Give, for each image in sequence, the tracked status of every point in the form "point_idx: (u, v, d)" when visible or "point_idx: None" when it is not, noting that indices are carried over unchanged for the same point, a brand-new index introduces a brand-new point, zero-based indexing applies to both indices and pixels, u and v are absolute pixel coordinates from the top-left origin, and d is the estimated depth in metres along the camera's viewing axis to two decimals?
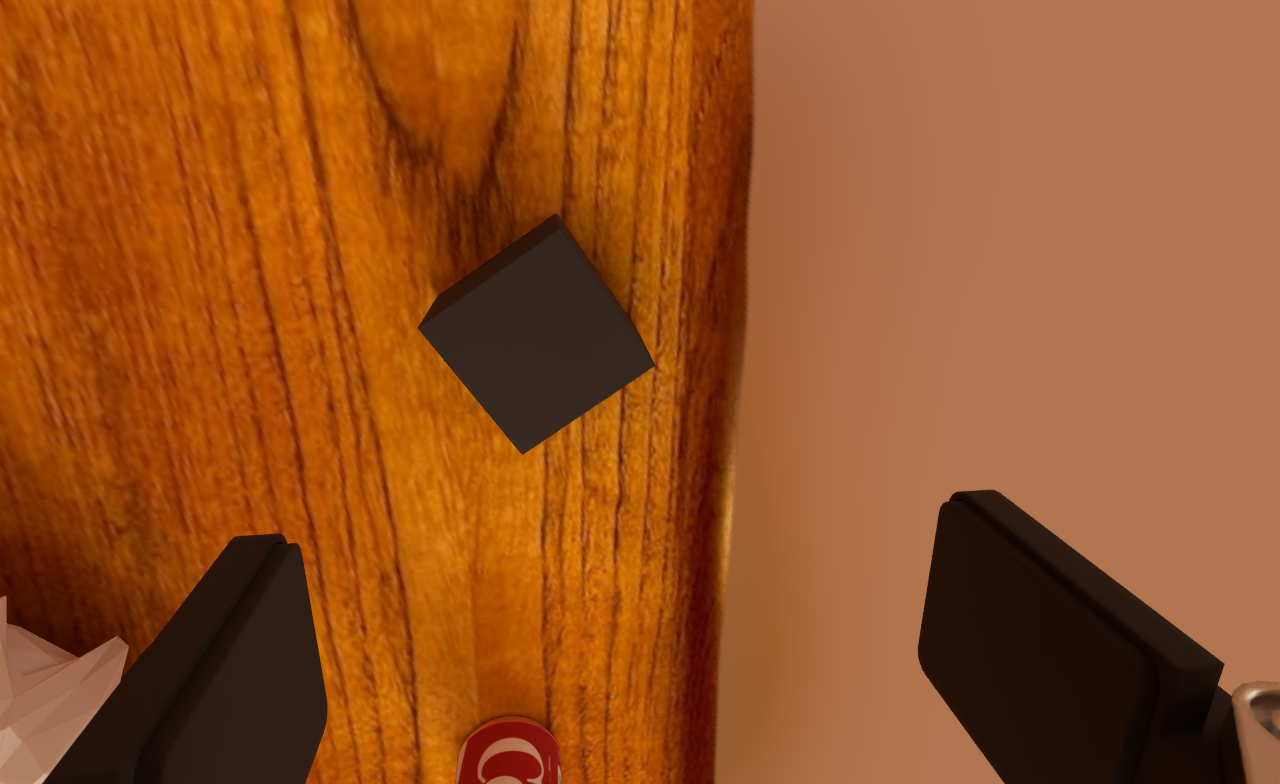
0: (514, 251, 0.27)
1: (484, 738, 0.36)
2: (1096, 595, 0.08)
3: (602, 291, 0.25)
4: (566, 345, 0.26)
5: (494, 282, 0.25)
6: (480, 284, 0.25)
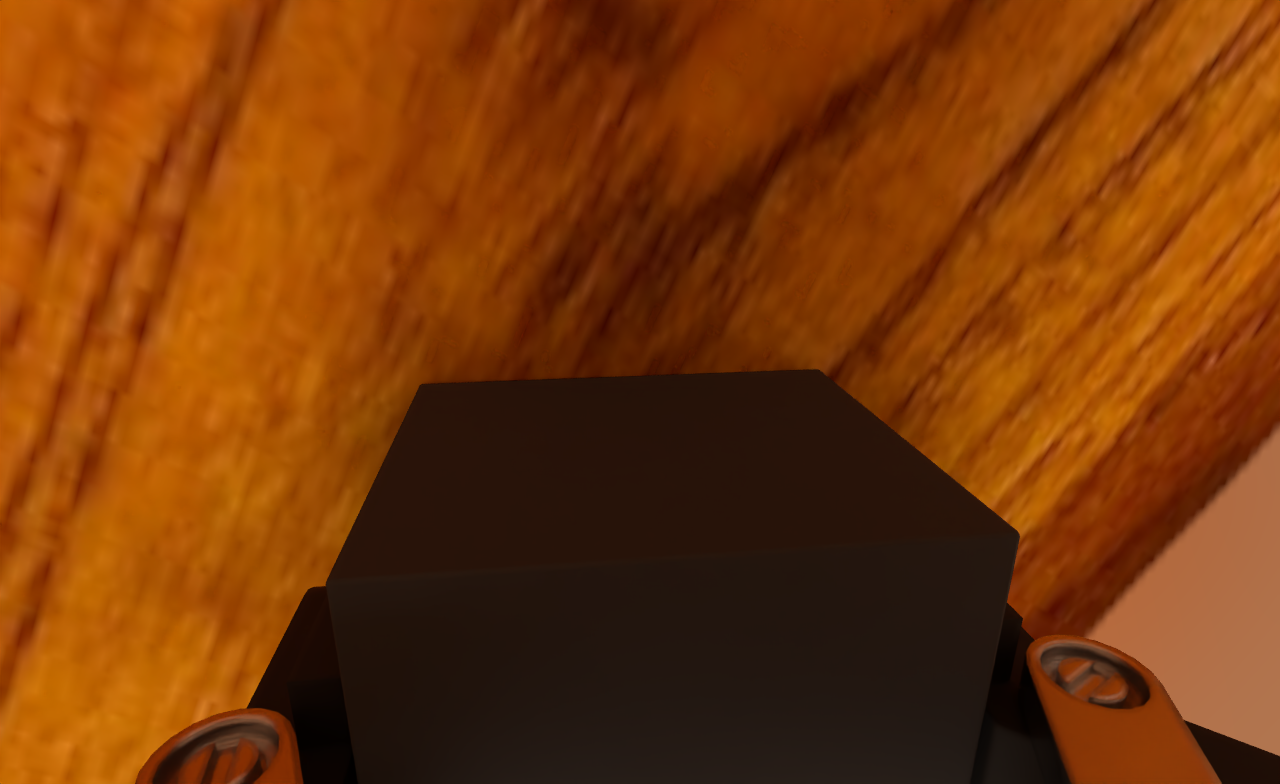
0: (746, 448, 0.08)
1: None
2: None
3: (971, 758, 0.07)
4: None
5: (707, 579, 0.06)
6: (656, 560, 0.06)
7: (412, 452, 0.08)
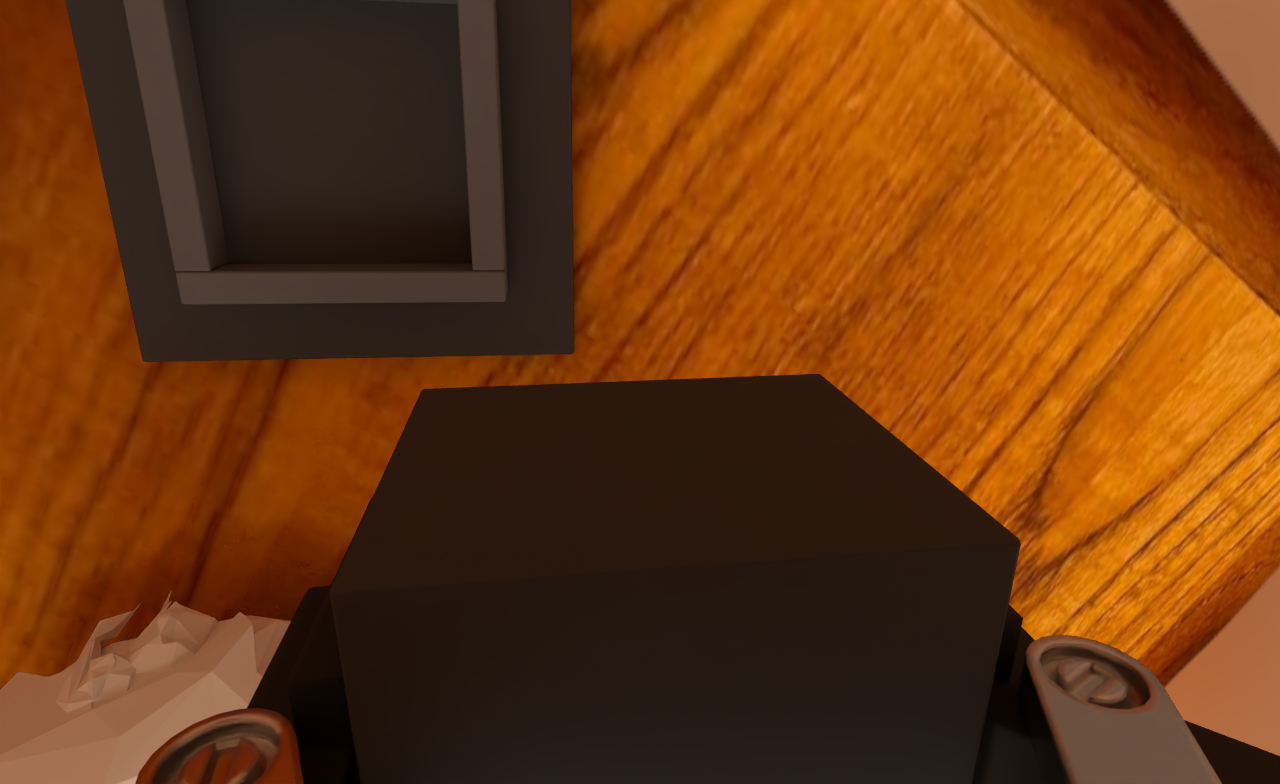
0: (747, 454, 0.08)
1: None
2: None
3: (972, 764, 0.07)
4: None
5: (709, 586, 0.06)
6: (658, 568, 0.06)
7: (414, 458, 0.08)
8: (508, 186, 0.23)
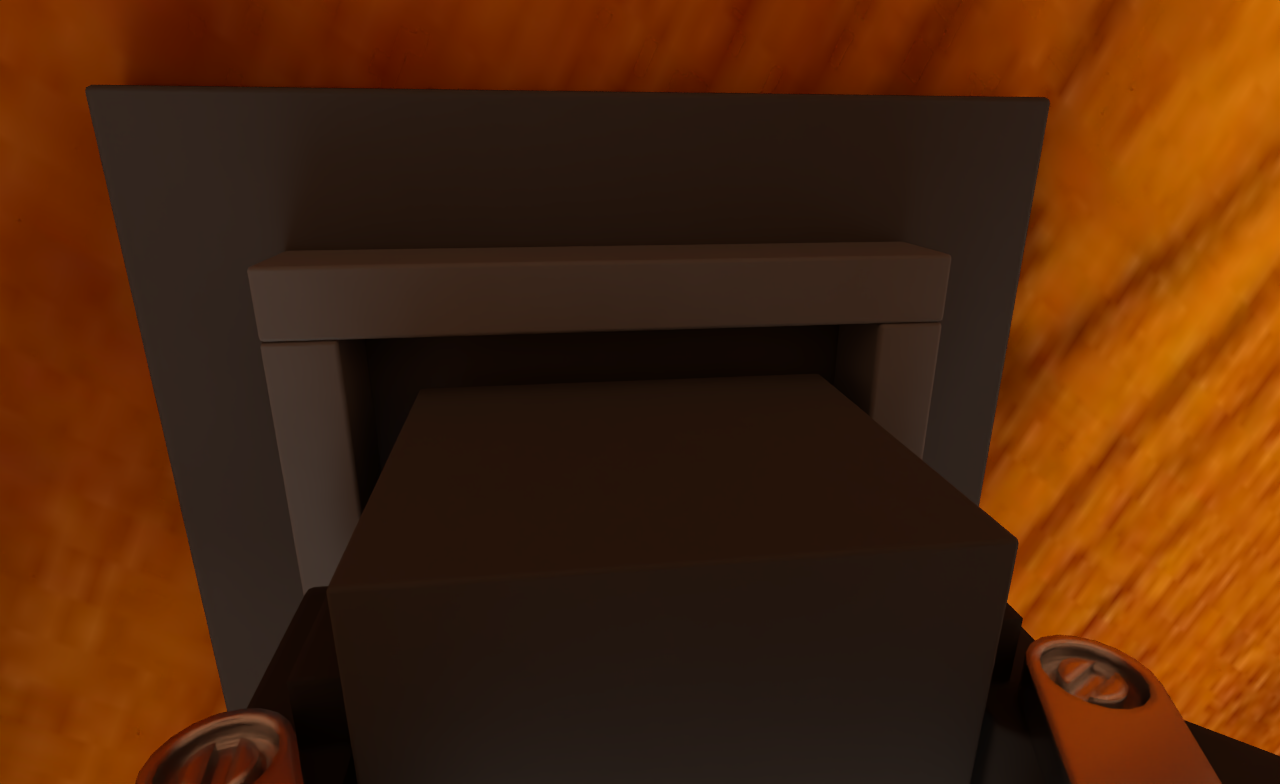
0: (745, 454, 0.08)
1: None
2: None
3: (970, 763, 0.07)
4: None
5: (707, 586, 0.06)
6: (655, 568, 0.06)
7: (412, 458, 0.08)
8: None
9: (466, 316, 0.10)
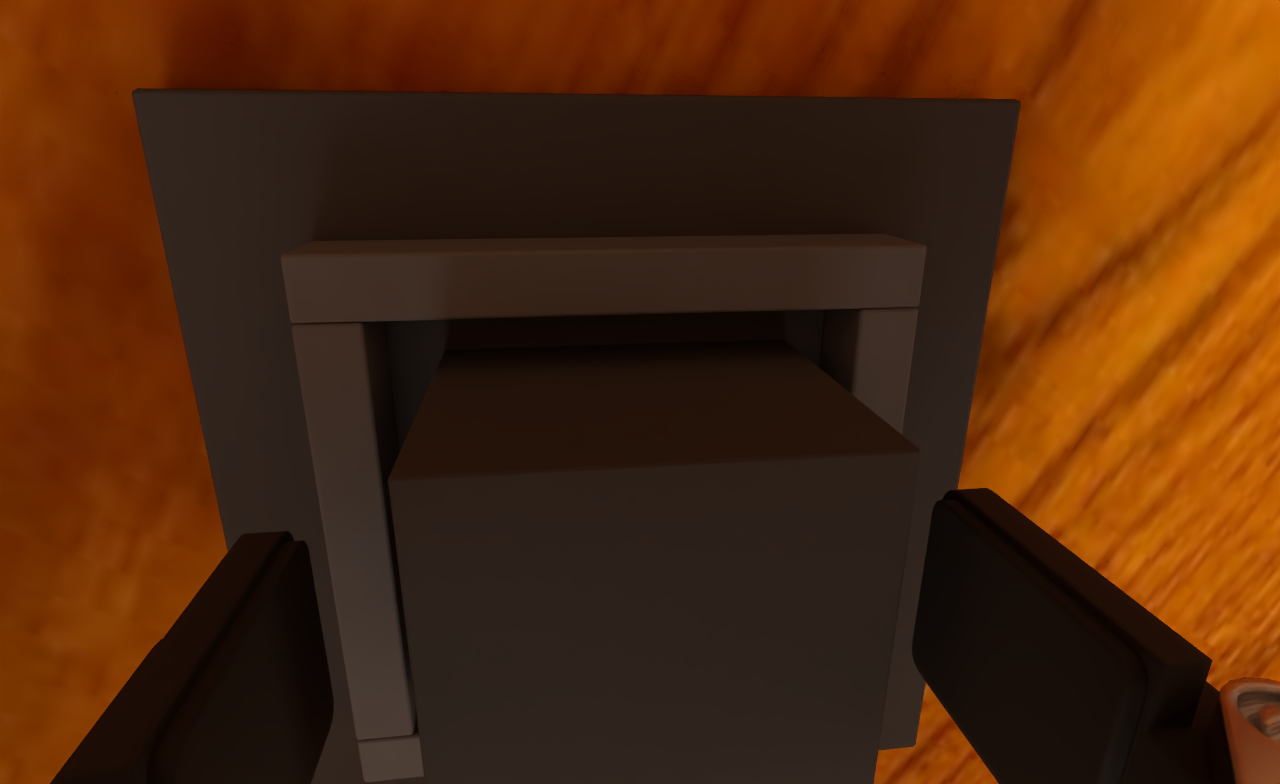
0: (715, 395, 0.10)
1: None
2: (1086, 592, 0.08)
3: (891, 636, 0.09)
4: (725, 708, 0.09)
5: (678, 482, 0.08)
6: (637, 466, 0.08)
7: (443, 397, 0.10)
8: None
9: (479, 300, 0.11)
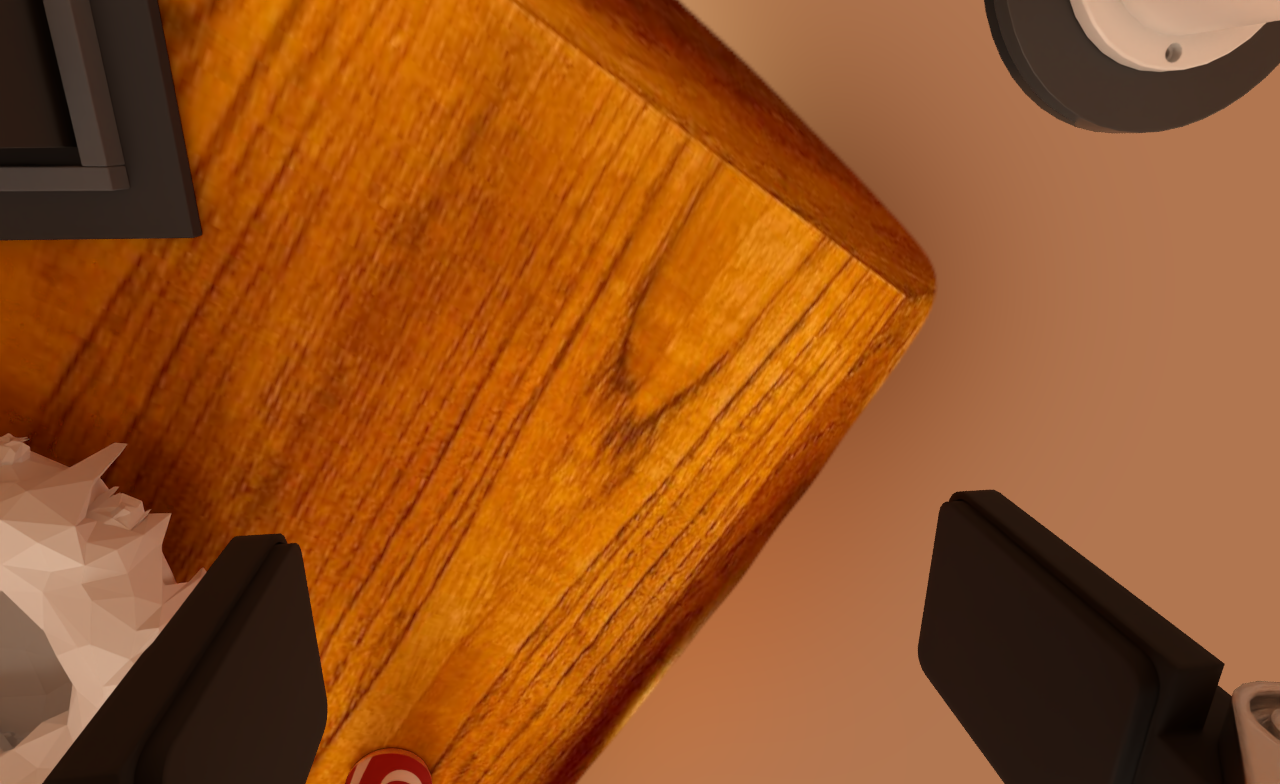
0: None
1: (389, 762, 0.44)
2: (1096, 595, 0.08)
3: None
4: None
5: None
6: None
7: None
8: (117, 105, 0.31)
9: None
